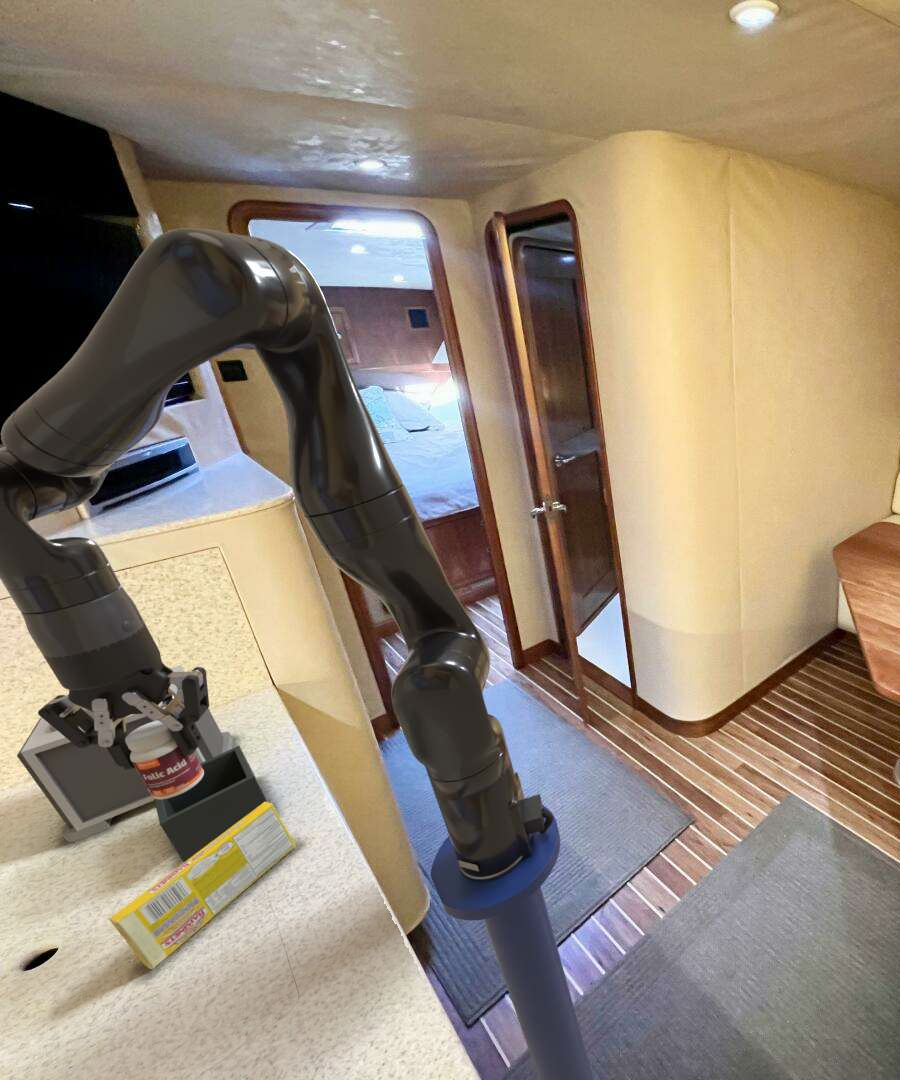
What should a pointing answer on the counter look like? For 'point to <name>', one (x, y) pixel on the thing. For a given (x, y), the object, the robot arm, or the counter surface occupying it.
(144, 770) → the pill bottle
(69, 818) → the crt monitor
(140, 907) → the candy box
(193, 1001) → the counter surface
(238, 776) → the open storage box
